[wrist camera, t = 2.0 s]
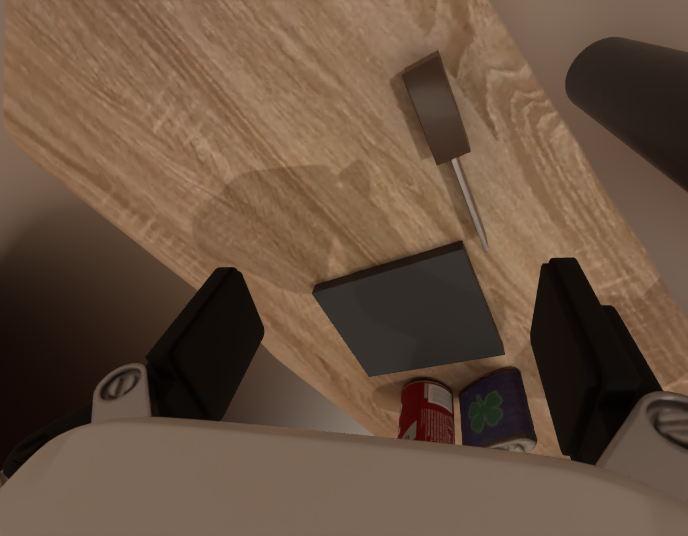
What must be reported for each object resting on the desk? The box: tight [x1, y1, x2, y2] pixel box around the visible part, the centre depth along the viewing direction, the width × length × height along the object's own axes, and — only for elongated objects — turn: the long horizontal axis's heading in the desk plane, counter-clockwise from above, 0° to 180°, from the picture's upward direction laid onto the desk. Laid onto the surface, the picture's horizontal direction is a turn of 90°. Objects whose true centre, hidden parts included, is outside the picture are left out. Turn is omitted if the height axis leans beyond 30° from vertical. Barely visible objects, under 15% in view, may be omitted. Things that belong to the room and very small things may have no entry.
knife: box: [402, 51, 489, 252], centre depth 29 cm, size 16×3×3 cm, turn 28°
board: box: [312, 241, 505, 377], centre depth 41 cm, size 17×15×2 cm
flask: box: [459, 367, 537, 453], centre depth 42 cm, size 9×3×11 cm, turn 145°
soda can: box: [398, 381, 455, 444], centre depth 45 cm, size 7×7×12 cm
